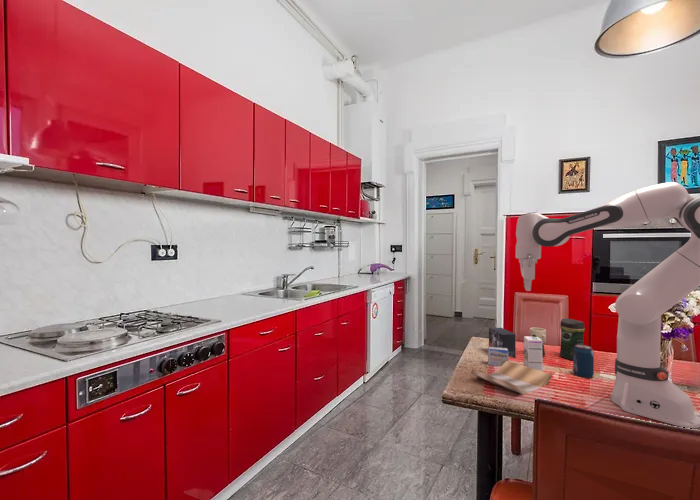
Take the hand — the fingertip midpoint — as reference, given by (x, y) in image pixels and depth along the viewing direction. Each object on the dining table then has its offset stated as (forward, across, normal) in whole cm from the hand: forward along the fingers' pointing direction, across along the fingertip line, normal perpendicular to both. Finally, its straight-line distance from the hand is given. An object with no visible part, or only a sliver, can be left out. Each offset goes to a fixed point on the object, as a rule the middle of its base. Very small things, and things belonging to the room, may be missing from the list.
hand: (527, 289), depth 132 cm
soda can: (+36, +17, -22) cm, 45 cm away
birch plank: (+34, -15, +10) cm, 38 cm away
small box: (+37, +32, +9) cm, 49 cm away
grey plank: (+36, -8, +5) cm, 37 cm away
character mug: (+36, +38, -7) cm, 53 cm away
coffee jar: (+36, +40, -22) cm, 59 cm away
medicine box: (+37, +11, +10) cm, 40 cm away
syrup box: (+36, +12, -4) cm, 38 cm away
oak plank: (+34, 0, +1) cm, 34 cm away
